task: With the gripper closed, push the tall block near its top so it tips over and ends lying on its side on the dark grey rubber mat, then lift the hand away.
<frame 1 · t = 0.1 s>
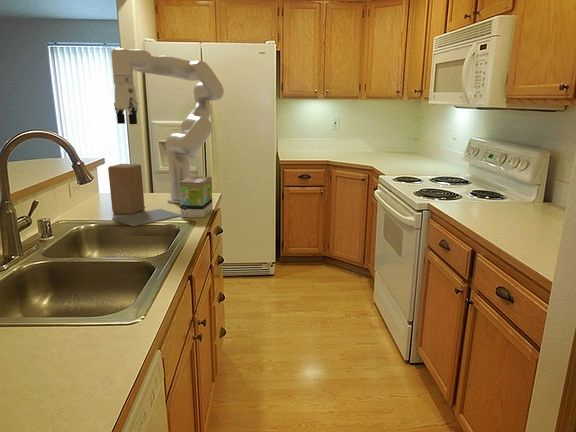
hand: (127, 123, 182), 37 cm above the counter, tool pointing down, fingers open, 9 cm apart
block: (129, 212, 186), on the counter
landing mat: (147, 217, 177), on the counter
tea box: (197, 213, 184), on the counter
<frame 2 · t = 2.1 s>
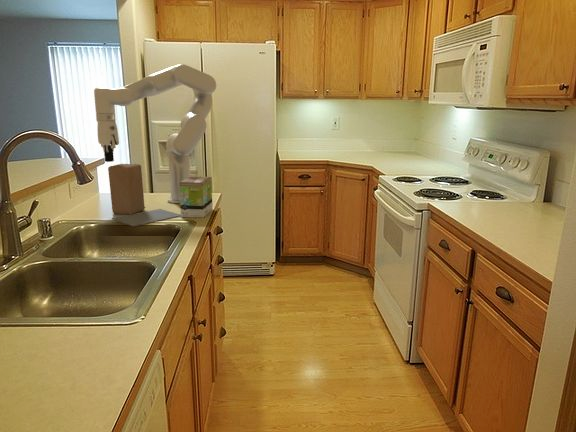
hand: (109, 161, 189), 21 cm above the counter, tool pointing down, fingers closed
nothing on the counter moved.
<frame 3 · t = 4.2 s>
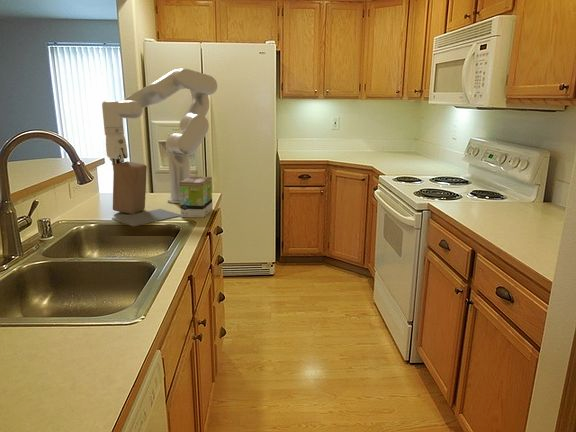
hand: (118, 174, 186), 15 cm above the counter, tool pointing down, fingers closed
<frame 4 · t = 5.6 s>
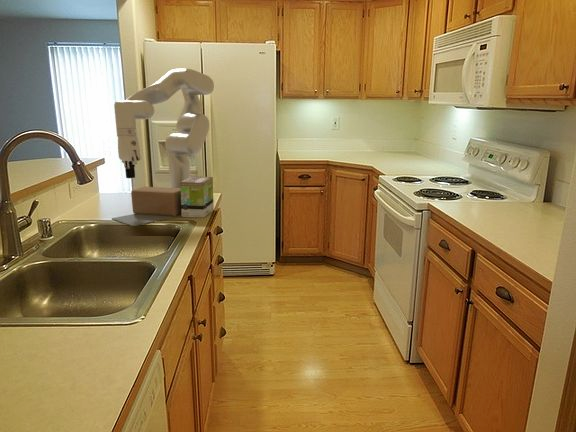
hand: (130, 177, 180), 15 cm above the counter, tool pointing down, fingers closed
block: (137, 199, 184), point 5 cm above the counter, touching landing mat
everything else where it was.
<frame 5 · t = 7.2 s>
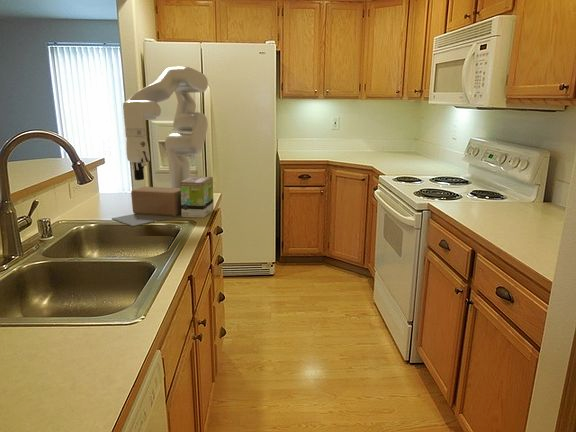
hand: (139, 179, 176), 15 cm above the counter, tool pointing down, fingers closed
nothing on the counter moved.
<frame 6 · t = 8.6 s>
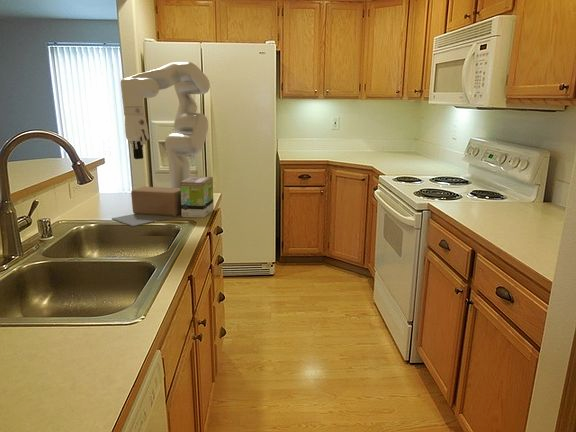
hand: (138, 158, 174), 24 cm above the counter, tool pointing down, fingers closed
nothing on the counter moved.
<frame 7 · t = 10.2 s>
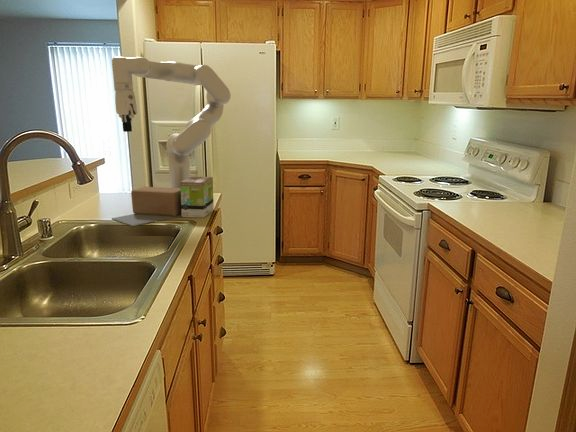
hand: (127, 131, 190), 33 cm above the counter, tool pointing down, fingers closed
nothing on the counter moved.
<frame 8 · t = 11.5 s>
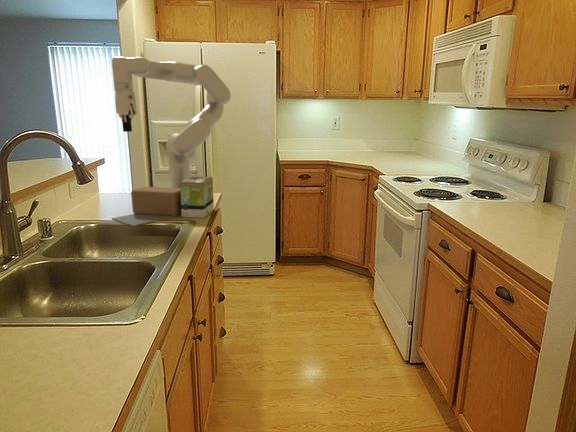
hand: (127, 131, 190), 33 cm above the counter, tool pointing down, fingers closed
nothing on the counter moved.
at the end: block tilted 90°; block inside the target area (4.0 cm from its centre), point 5.4 cm above the counter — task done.
